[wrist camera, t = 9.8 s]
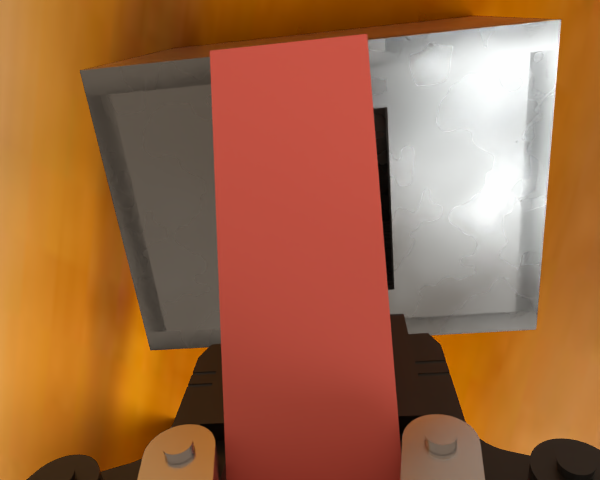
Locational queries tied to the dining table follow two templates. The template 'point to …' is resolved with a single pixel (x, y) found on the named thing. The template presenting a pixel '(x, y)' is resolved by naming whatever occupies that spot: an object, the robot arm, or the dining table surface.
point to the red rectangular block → (302, 265)
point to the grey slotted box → (391, 168)
